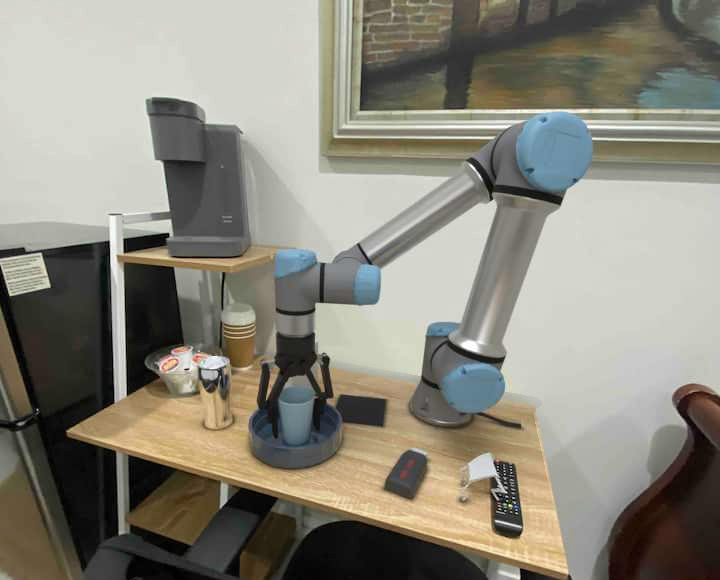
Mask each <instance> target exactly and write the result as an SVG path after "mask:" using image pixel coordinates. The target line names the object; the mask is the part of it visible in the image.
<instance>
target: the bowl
mask: <svg viewBox="0 0 720 580" xmlns="http://www.w3.org/2000/svg"><path fill="white" fill-rule="evenodd" d="M276 408H277V411H278V438H274V435H273V433H272V423H271V424H269V423H268V421H267V416H266V409H263V410H260V409H259V408H257V409H255V410H254V411H253V413H252V414H251V416H250V417H249V419H248V425H247V430H248V431H247V432H248V445H249V448H250V450H251V453H252V454H253V455H254V457H256V458H258V459H259V460H260V461H262V462H263V463H265V464H268V465H270V466H273V467H277V468H282V469H303V468H308V467H312V466H316V465H318V464H320V463H322V462H324V461H326V460H328V459H329V458H330V457H332V456H333V455H334V454H335V453H336V452H337V451H338V449H340V447H341V443H342V439H343V423H344V422H343V421H342V417H341V414H340V412H339V411H338V410H337V409H336V406H334V405H332V404H330V403H329V402H327V403H326V404H325V412H324V414H322V415H320V430H318V431H317V430H316V429H315V427H314V425H313V412H312V419H311V427H310V434H309V439H308V440H307V441H306V442H305V443H303V444H299V445H291V444H288V443H286V442H285V441H284V439H283V433H282V426H281V420H280V413H279V406H278V401H277V403H276Z"/></svg>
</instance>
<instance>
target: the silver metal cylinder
mask: <svg viewBox="0 0 720 580" xmlns="http://www.w3.org/2000/svg"><path fill="white" fill-rule="evenodd" d="M196 365H197V384H198V389H199V394H200V396H201V400H202V402H203V407H204V413H205V414H204V415H205V416H204V426H205V428H208V429H209V430H221V429H224V428H227V427H229V426H230V425H231V424H232V423H233V421H234V418H233V414H232V410H231V397H232V390H233V374H232V367H231V362H230V359H229V358H228V357H226V356H222V355H212V356H211V355H210V356H206V357H204V358H201V359H199V360H198V361H197V364H196Z"/></svg>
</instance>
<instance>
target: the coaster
mask: <svg viewBox="0 0 720 580" xmlns="http://www.w3.org/2000/svg"><path fill="white" fill-rule="evenodd" d="M386 402H387V399H386V398H380V397H379V398H377V397H371V396H370V397H369V396H360V395H353V394H344V393H340V395H339V397H338V400H337V403H336V406H335V408H336V409H337V410H338V411H339V412H340V414H341V417H342V421H343V423H351V424H361V425H369V426H377V427H384V425H383V424H384V418H385V408H386Z"/></svg>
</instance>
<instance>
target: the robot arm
mask: <svg viewBox="0 0 720 580" xmlns="http://www.w3.org/2000/svg"><path fill="white" fill-rule="evenodd" d="M593 155H594V141H593V136H592V134H591V132H590V130H589V128H588V125H587V124H586V123H585V121H584V120H582V119H581V118H580V117H579V116H577V115H575V114H574V113H571V112H568V111H561V110H557V111H551V112H549V111H548V112H542V113H538V114H537V115H534V116H533V117H531V118H530V119H526V120H524V121H521V122H519V123H516V124H513V125H510V126H508V127H507V128H505V129H503V130H502V131H501V132H499V133H498V134H496V135H495V136H494V137H492V139H491V140H490V141H489V142H487V143H486V144H485V145H483V146H482V148H480V149H479V150H478V151H476V152H475V153H474V154H472V155H471V156H470V157H468V158H467V159H466V160H464V161H463V162H462V163H461V166H460V170H459V171H458V172H456V173H455V174H453V175H452V176H450V178H448V179H447V180H445V181H444V182H442V183H440V185H439V184H438V186H437V187H435V188H433V189H432V190H431V191H429V192H428V193H426V194H425V195H424V196H422V197H421V198H419V199H418V200H417V201H415V202H414V203H412V204H410V205H409V206H408V207H406V208H405V209H404V210H402V211H401V212H400V213H398V214H396V215H394V216H393V217H392V218H390V220H387V222H385V223H384V224H382V225H381V226H379V227H377V229H375V230H373V232H371V233H369V234H368V235H367V236H365V237H363V239H361V240H360V241H358V242H357V243H355V244H354V245H353V246H351V247H350V248H348V249H347V250H343V251H341V252H339V253H338V254H337V255H335V257H334V258H333V260H332V261H331V262H322V261H318V259H317V254H316V252H314V251H313V250H310V249H304V248H286V249H285V248H284V249H281V250H278V252H277V253H276V254H275V256H274V257H275V258H274V275H273V278H274V279H273V280H274V298H275V299H274V302H275V330H276V333H275V348H276V351H275V352H276V353H275V354H274V355H275V356H274V357H273V358H271V359H268V360H266V359H264V358H262V359H260V361H259V362H260V368H261V373H260V379H259V385H258V390H257V395H256V396H257V397H256V405H257V407H258V408H259V409H260V410H263V409H266V416H267V421H268V423H269V424H271V423H272V433H273V435H274V438H278V411H277V408H276V403H277V401H278V399H279V396H280V394H281V392H282V390H283V389H284V386H285V383H286V382H287V381H288V379H289V377H295V376H305V374H306V376H307V378H308V380H309V382H310V384H311V386H312V387H313V389H314V391H315V393H316V394H315V396H316V397H315V398H314V405H313V425H314V427H315V429H316V430H317V431H318V430H320V415H322V414H324V412H325V404H326V403H328V401H327V400H329V399H333V398H334V396H335V395H334V389H333V383H332V377H331V372H330V364H331V363H330V362H331V358H330V355H328V354H327V353H326V351H325V352H322V353H318V354H316V353H315V333H316V309H317V308H316V304H331V305H332V304H333V305H351V306H358V307H362V306H375V305H377V304H378V303H379V300H380V297H381V287H382V272H381V270H383V269H384V268H385V267H387V266H389V265H391V264H392V263H393V262H394V261H396V260H397V259H399V258H400V257H402V256H403V255H405V254H407V253H408V252H410V250H412V249H413V248H415V247H416V246H419V245H420V244H421V243H423V242H424V241H425V240H427V239H428V238H430V237H432V236H433V235H434V234H436V233H438V232H439V231H440V230H442V229H444V228H445V227H446V226H448V225H450V223H452V222H453V221H455V220H457V219H458V218H459V217H461V216H463V215H464V214H466V213H467V212H468V211H470V210H471V209H473V208H474V207H476V206H477V205H479V204H482V205H483V204H484V205H488V204H489V203H491V201H493V200H494V202H495V204H496V209H495V212H494V215H493V218H492V222H491V223H490V228H489V231H488V234H487V238H486V241H485V244H484V247H483V251H482V253H481V256H480V260H479V263H478V266H477V270H476V273H475V276H474V279H473V283H472V286H471V289H470V292H469V295H468V298H467V302H466V305H465V307H464V311H463V315H462V318H461V321H460V322H455V321H437V322H432V323H430V324H428V326H427V328H426V334H425V335H424V337H425V341H424V350H423V358H422V366H421V374H420V375H421V376H420V380H419V381H418V385H417V386H416V388H415V390H414V392H413V395H412V397H411V399H410V405H409V406H410V411H411V413H412V415H414V416H415V417H416V418H417V419H418V420H420V421H422V422H424V423H426V424H429V425H432V426H436V427H442V428H457V427H462V426H465V425H467V424H468V423H469V422H470V421H471V419H472V415H473V414H474V415H477V416H480V417H483V418H486V419H489V420H491V421H493V422H496V423H499V424H502V425H505V426H509V427H514V428H520V429H522V424H521V423H518V422H514V421H508V420H505V419H501V418H498V417H497V416H496V417H495V416H493V415H490V414H488V413H485V411H486V410H488V409H491V408H493V407H494V406H495V405H497V404H498V403H499V402H500V401H501V400H502V398H503V396H504V394H505V390H506V380H505V377H504V375H503V373H502V368H503V366H504V362H505V359H506V358H507V353H508V351H507V348H506V347H505V345H504V342H503V340H504V338H505V336H506V333H507V329H508V326H509V324H510V321H511V318H512V316H513V313H514V310H515V307H516V304H517V302H518V299H519V296H520V293H521V291H522V287H523V284H524V281H525V279H526V277H527V274H528V271H529V269H530V265H531V262H532V259H533V257H534V253H535V251H536V248H537V246H538V242H539V240H540V237H541V234H542V232H543V228H544V226H545V223H546V220H547V218H548V217H549V216H550V215H551V214H553V213H555V212H556V211H558V210H560V209H561V206H562V204H563V201H564V198H565V196H566V193H567V190H568V189H570V188H572V187H573V186H575V185H576V184H577V183H579V182H580V181H581V180H582V178H583V177H584V176H585V175H586V173H587V171H588V170H589V168H590V165H591V163H592V161H593ZM314 331H315V332H314ZM316 360H318V365H319V367H320V374H321V378H322V384H323V389H324V390H323V391H322V389H321V388H320V386H319V385H320V384H319V382H318V383H317V381H316V379H315V377H314V375H313V373H312V371H311V367H312V366H313V365H314V363H315V362H316ZM275 366H276V367H277V368H278V372H277V376H276V379H275V381H274V383H273V385H272V388H271V390H270V392H269V394H268V391H269V387H270V386H269V385H270V380H271V372H273V370H274V367H275ZM258 408H257V409H258Z"/></svg>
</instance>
